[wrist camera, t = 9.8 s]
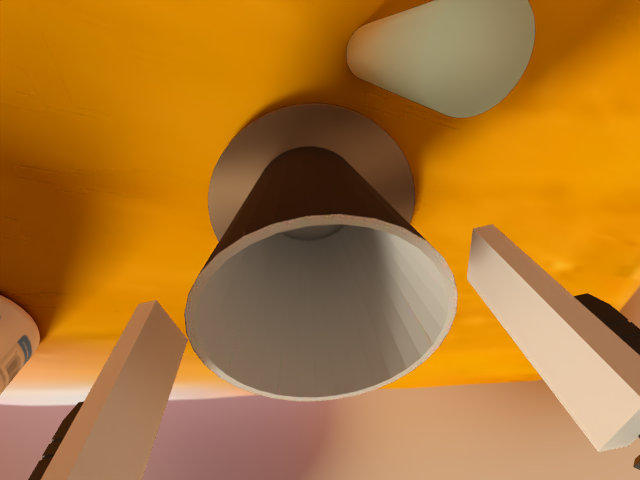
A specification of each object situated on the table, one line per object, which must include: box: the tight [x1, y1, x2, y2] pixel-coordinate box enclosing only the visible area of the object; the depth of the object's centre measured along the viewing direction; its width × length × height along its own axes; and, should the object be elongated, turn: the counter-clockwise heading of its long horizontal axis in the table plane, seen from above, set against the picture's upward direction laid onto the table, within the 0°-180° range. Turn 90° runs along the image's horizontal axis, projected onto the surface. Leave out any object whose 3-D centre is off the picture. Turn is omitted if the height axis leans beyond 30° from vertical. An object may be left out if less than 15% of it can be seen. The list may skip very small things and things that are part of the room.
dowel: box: [346, 0, 535, 118], centre depth 10 cm, size 2×2×10 cm
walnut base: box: [208, 103, 415, 241], centre depth 19 cm, size 13×13×1 cm
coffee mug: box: [184, 146, 458, 401], centre depth 14 cm, size 12×9×10 cm
